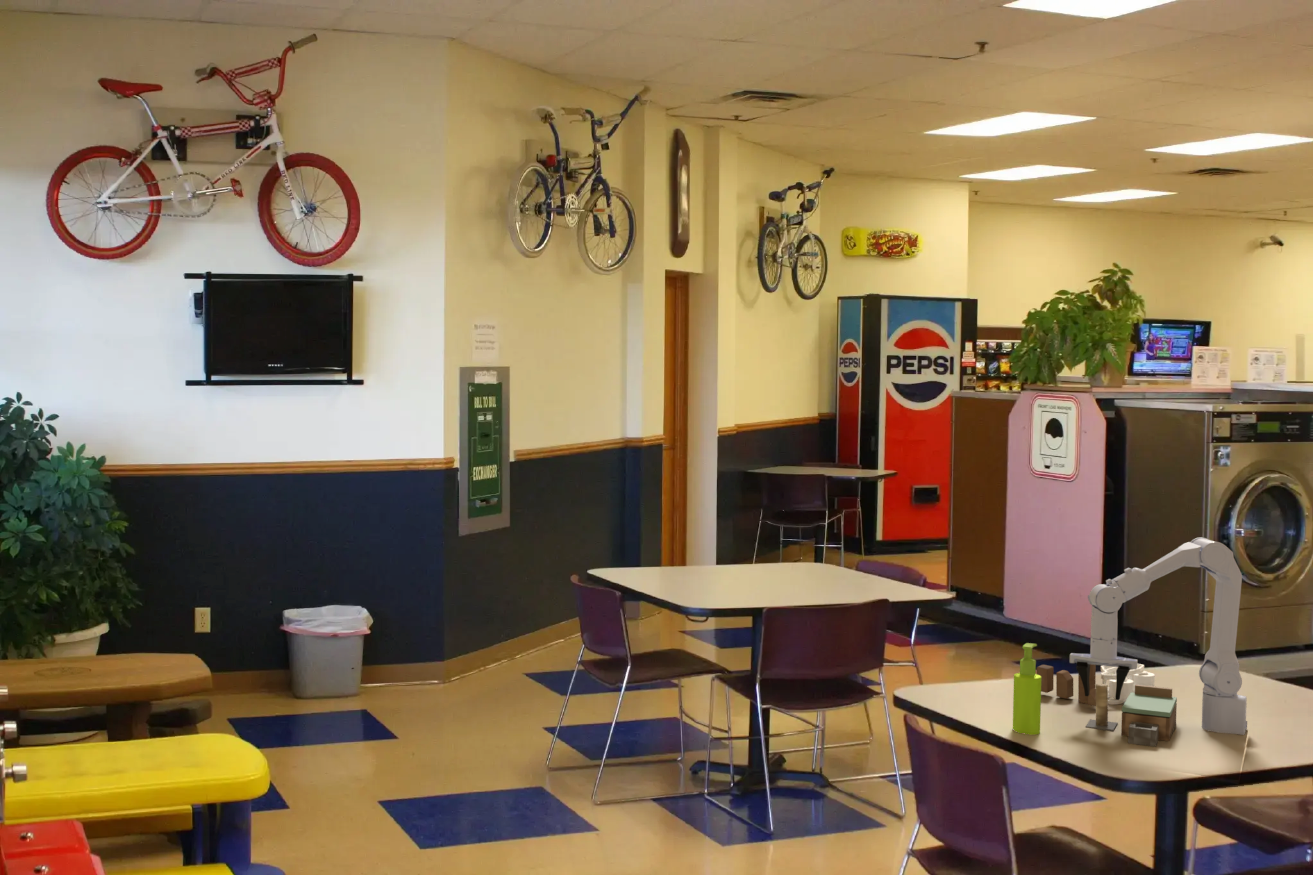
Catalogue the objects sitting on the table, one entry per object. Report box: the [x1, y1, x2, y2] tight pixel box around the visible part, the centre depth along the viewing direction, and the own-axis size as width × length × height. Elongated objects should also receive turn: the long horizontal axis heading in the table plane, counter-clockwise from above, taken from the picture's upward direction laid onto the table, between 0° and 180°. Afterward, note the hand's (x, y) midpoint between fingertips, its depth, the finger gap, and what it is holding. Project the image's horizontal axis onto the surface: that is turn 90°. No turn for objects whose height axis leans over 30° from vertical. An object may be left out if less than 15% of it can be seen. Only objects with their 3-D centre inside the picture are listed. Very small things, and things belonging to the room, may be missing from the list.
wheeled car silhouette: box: [1100, 663, 1156, 705], centre depth 329 cm, size 20×11×7 cm, turn 133°
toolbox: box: [1120, 702, 1178, 747], centre depth 296 cm, size 10×22×5 cm, turn 154°
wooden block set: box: [1036, 664, 1097, 707], centre depth 323 cm, size 18×9×10 cm, turn 43°
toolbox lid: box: [1121, 685, 1178, 717], centre depth 298 cm, size 10×16×3 cm, turn 154°
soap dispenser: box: [1012, 642, 1042, 736], centre depth 294 cm, size 6×7×20 cm
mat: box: [1085, 719, 1118, 732], centre depth 301 cm, size 6×7×1 cm
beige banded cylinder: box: [1095, 683, 1109, 726], centre depth 301 cm, size 3×3×9 cm
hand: (1102, 697), depth 301 cm, fingers open, 6 cm apart
